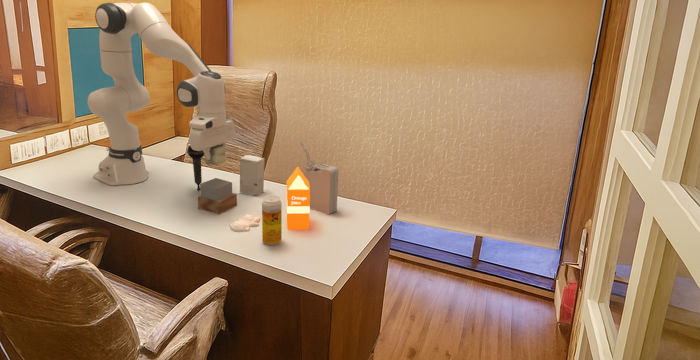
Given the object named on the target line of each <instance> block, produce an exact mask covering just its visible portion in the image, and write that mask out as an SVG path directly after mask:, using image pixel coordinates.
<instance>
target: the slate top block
mask: <svg viewBox="0 0 700 360" xmlns="http://www.w3.org/2000/svg"><path fill="white" fill-rule="evenodd" d="M199 187H200V196H201V197H204V198H207V199H210V200H214V201H220V200H222V199H224V198H226V197H229V196H231V195H232V193H233V182H232V181H229V180H225V179H221V178H218V177H215V178H212V179H210V180H207V181H204V182H202V183H200V185H199Z"/></svg>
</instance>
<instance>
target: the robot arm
mask: <svg viewBox="0 0 700 360" xmlns="http://www.w3.org/2000/svg"><path fill="white" fill-rule="evenodd" d="M94 13H95V15H94V17H95V22H96V24H97V26H98V28H99V37H98V38H99V40H98V41H99V42H98V43H99V54H100V64H101V69H102V72H103V73H104V74H106V75H107V76H110V78H112V79H113V82H114V86H109V87H108V86H107V87H102V88H99V89H97V90H94V91H92V92H90V93H89V95H88V97H87V107H88V109H89V110H90V111H91V113H92V114H93V115H94V116H96V117H98V118H99V119H101V120H102V122H103V123H104V125H105V127H106V129H107V132H108V133H107V134H108V137H109V138H108V139H109V144H110V147H107V148H106V151H107V152H108V155H107V156H106V157H105V158H104V159H102V160H101V161H100V162H99V163H98V172H95V173H94V174H93V175H92V178H93V179H95V180H98V181H100V182H102V183H104V184H106V185H109V186H119V185H123V186H124V185H133V184H138V183H142V182H144V181H146V180H148V178H149V176H148V174H149V171H148V170H147V168H146V164H145V159H144V156H143V147H142V145H141V142H140V141H141V139H140V131H139V128H138V127H137V125H136V124H134V123H132V122H131V121H130V122H129V120H128V117H127V114H129V113H132V112H137V111H138V112H139V111H140V110H143V109H144V108H146V107H148V106H149V105H150V103H151V102H150V101H151V95H150V92H149V90H148V89H147V88H146V86H144V85H143V84H142V83H140V81H139V79H138V78H137V76H136V73H135V69H134V63H133V54H132V53H133V52H132V41H131V40H132V36H133V35H138V37H139V38H140V40H141V41H142V44H143V45H144V46H145V48H146V49H147V50H148V51H149V52H151V54H153V55H155V56H157V57H160V58H163V59H167V60H168V59H169V60H173V61H176V62H178V63H181V64H182V65H184V66H185V67H186V68H187V69H188V70H189V71H190V72H191V74H192V75H193V77H191V78H187V79H185V80H183V81H180V82H179V83H178V85H177V87H176V96H177V100H178V101H179V103H180V104H181V105H182V106H184V107H186V108H195V107H198V108H199V109H198V110H199V114H197V115H196V116H195V117H194V118H193V119H191V120H190V121H189V128H191V129H190V131H189V146H191V148H192V149H193V150H195V151H202V150H203V152H204V153H205V154H204V156H205V155H206V159H207V160H210V159H212V154H210V152H209V151H210V148H211V147H214V146H216V145H222V146H225V147H226V146H227V142H231V141H235V138H236V127H235V123H234V118H233V117H232V116H231V115H229V114H228V115H227V114H226V113H227V110H226V106H225V102H226V101H225V100H226V91H227V89H226V86H225V83H224V79H223V76H222V75H221V74H220V73H218V72H215V71H212V70H211V68H209V66H208V65H207V64H206V63H205V61H204V60H203V59H202V58H201V57H200V55H199V54H198V53H197V51H196V50H195V49H194V48H193V47H192V46H191V44H189V43H188V42H186V41H185V40H183V38H181V37H180V36H179V35H178V34H177V33H176V32H175V31H174V29H172V27H171V25H170V23H168V21H167V19H166V18H165V17H164V16H163V14H162V12H160V10H158V9H157V7H156V6H154V5H153V4H152V3H151V2H139V3H135V2H131V1H130V2H127V1H124V2H114V3H113V2H106V3H101V4H99V5H98V6H97V7H96V10H95V12H94Z"/></svg>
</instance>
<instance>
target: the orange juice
mask: <svg viewBox="0 0 700 360" xmlns="http://www.w3.org/2000/svg"><path fill="white" fill-rule="evenodd" d="M285 198H286V228H287V230H309V229H310V209H311V208H310V187H309V181H308V180H307V179H306V177H305V176H304V173H303V172H302V171H301V169H300V167H299V166H297V167H296V168H295V169H294V171H293V172H292V174H291V175H290V176H289V178H288V179H287V180H286V197H285Z"/></svg>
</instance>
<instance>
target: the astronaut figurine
mask: <svg viewBox="0 0 700 360" xmlns="http://www.w3.org/2000/svg"><path fill="white" fill-rule="evenodd" d="M260 221H261V217H259V216H255V217H254V216H253V215H251V214H250V213H249V214H247V213H245V214H243V216H242V217H237V219H236V220H235V221H233V222H231V223H230V224H229V229H230V230H231V231H232V232H234V233H245V232H249V231H250V230H251V228H253V227H255V228H257V227H259V226H260V224H259V222H260Z"/></svg>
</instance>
